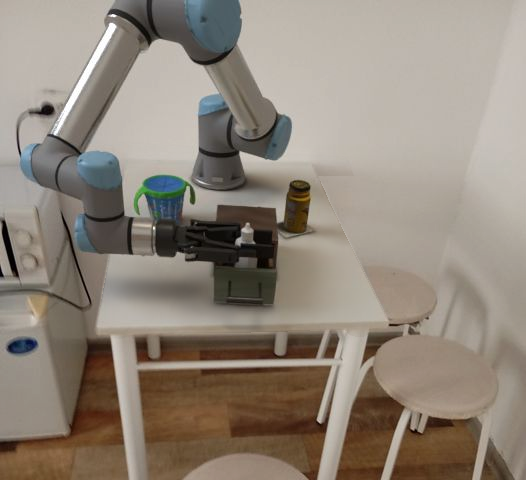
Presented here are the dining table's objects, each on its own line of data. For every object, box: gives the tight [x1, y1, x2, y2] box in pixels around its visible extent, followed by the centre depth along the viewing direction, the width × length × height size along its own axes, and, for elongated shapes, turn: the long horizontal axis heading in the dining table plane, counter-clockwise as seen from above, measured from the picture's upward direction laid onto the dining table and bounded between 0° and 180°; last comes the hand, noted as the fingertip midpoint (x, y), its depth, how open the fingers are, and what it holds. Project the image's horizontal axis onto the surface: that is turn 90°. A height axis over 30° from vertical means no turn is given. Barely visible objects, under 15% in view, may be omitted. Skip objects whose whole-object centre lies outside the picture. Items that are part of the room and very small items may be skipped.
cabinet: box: [213, 204, 279, 277], centre depth 126 cm, size 16×14×10 cm
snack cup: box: [133, 174, 196, 226], centre depth 137 cm, size 16×10×10 cm
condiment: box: [277, 179, 314, 238], centre depth 139 cm, size 7×8×12 cm
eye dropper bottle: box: [234, 223, 257, 268], centre depth 113 cm, size 4×6×12 cm
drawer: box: [213, 241, 278, 306], centre depth 115 cm, size 21×12×8 cm, turn 1°
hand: (272, 244), depth 112 cm, fingers closed on eye dropper bottle, 5 cm apart
